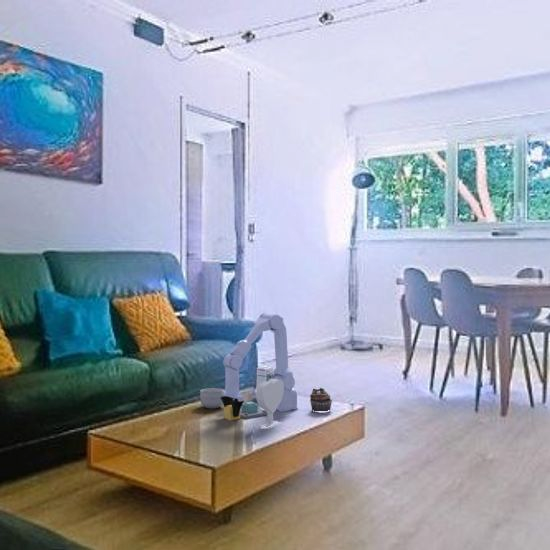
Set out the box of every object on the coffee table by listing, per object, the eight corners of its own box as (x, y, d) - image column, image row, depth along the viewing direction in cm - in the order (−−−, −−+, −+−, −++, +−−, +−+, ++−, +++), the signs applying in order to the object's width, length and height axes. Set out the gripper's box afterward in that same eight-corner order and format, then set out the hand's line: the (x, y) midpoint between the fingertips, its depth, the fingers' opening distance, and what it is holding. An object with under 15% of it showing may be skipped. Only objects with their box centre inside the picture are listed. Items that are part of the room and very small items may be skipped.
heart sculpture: (275, 419, 258) (275, 376, 257) (285, 421, 255) (285, 378, 255) (254, 428, 245) (254, 383, 244) (264, 430, 242) (265, 384, 241)
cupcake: (320, 415, 265) (320, 392, 265) (305, 410, 273) (305, 388, 273) (336, 411, 272) (336, 389, 271) (321, 407, 279) (321, 385, 279)
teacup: (196, 409, 274) (196, 391, 274) (205, 403, 285) (205, 386, 284) (225, 411, 270) (225, 393, 270) (234, 405, 281) (234, 388, 280)
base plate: (254, 408, 275) (254, 398, 275) (268, 414, 265) (269, 403, 265) (230, 412, 268) (230, 401, 268) (245, 418, 258) (245, 407, 258)
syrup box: (266, 398, 295) (266, 368, 294) (256, 396, 298) (256, 367, 298) (273, 396, 299) (273, 366, 299) (263, 394, 303) (263, 365, 302)
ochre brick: (234, 416, 263) (234, 403, 263) (240, 418, 259) (240, 406, 258) (223, 417, 260) (224, 405, 260) (229, 420, 256) (230, 407, 256)
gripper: (215, 380, 263) (215, 412, 263) (232, 387, 251) (232, 420, 251) (229, 379, 267) (229, 410, 267) (247, 385, 255) (247, 417, 255)
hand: (232, 414), depth 259 cm, fingers open, 6 cm apart
